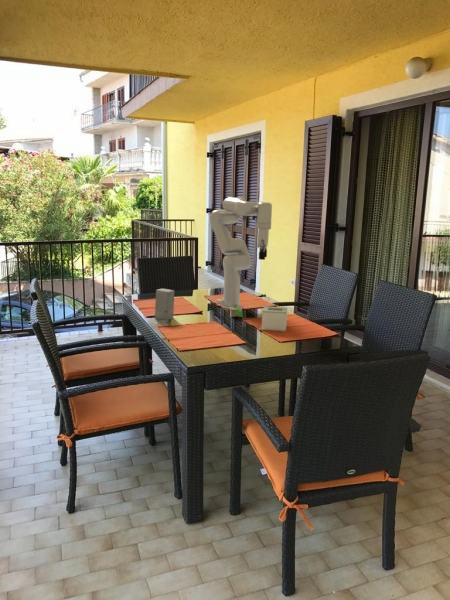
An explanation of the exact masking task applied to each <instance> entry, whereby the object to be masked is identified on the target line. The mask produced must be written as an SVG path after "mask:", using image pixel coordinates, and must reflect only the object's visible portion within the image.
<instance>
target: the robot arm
mask: <svg viewBox="0 0 450 600" xmlns="http://www.w3.org/2000/svg"><path fill="white" fill-rule="evenodd" d="M222 207H223V209H214V210H213V211H211V213H210V215H209V223H210V227H211V229H212V231H213V233H214V235H215V237H216V240H217V244H218V246H219V249H220V252H221V253H222V254H223V255H226V256H224V257H223V259H222V268H223V286H224V287H223V298H222V299H216V303H218V304H220V308H223V309H228V310H230V307H234V304H237V305H236V307H243V305H242V304H241V303H240V299H241V298H240V296H241V294H240V293H241V292H240V291H241V276H240V274H239V273H238V271H243V270H245V271H246V270H249V269H250V268H251V267H252V259H251V255H250V253H249V249H248V246H247V244H246V242H245V241H244V239H242V238H239V237H238V238H237V237H235V238H233V237H232V235H231V232H230V231H229V229H228V228H227V227H226V226H225V225H228V224H229V225H231V224H234V225H235V224H236V223H238V222H239V220H240V219H241V218H242V216H245V217H251V216H252V217H253V216H254V217H255V216H256V229H257V231H258V233H257V244H256V247H257V249H259V251H258V260H259V261H261V260H263V261H265V259H266V258H267V256H268V255H267V254H268V245H269V236H270V234H269V233H270V231H269V230H271V229H272V212H273V204H272V203H270V202H266V201H265V202H264V201H247V199H245V198H244V197H240V196H239V197H235V196H234V197H233V196H232V197H229V196H228V197H227V198H225V199H224V200H223V201H222Z"/></svg>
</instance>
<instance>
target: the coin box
mask: <svg viewBox="0 0 450 600" xmlns="http://www.w3.org/2000/svg"><path fill="white" fill-rule="evenodd" d="M287 323H288V307H283V306H282V307H281V306H265V305H264V307H263V309H262V312H261V331H270V330H271V331H272V332H273V331H274V332H286V330H287V325H288V324H287Z"/></svg>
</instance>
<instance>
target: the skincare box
mask: <svg viewBox="0 0 450 600" xmlns="http://www.w3.org/2000/svg"><path fill="white" fill-rule="evenodd" d="M175 292H176V291H175V290H174V289H168V288H159V289H156V290H155V305H154V318H155V319H158V320H164V321H168V320H171V319H174V309H175Z"/></svg>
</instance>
